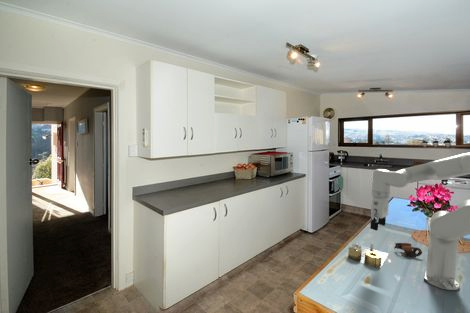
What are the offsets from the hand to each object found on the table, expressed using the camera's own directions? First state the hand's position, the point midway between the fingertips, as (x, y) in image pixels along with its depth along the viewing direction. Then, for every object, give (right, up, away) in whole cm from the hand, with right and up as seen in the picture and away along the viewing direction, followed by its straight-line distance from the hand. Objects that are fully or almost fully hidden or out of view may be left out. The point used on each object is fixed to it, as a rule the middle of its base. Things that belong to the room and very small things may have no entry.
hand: (377, 227), depth 120 cm
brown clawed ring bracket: (+20, -18, +7) cm, 28 cm away
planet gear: (-4, -17, -2) cm, 17 cm away
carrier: (-3, -18, +5) cm, 19 cm away
